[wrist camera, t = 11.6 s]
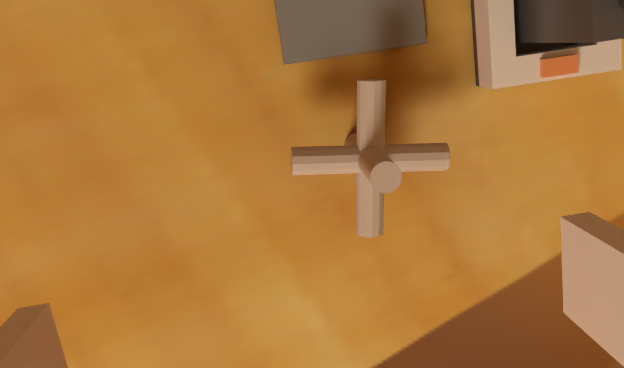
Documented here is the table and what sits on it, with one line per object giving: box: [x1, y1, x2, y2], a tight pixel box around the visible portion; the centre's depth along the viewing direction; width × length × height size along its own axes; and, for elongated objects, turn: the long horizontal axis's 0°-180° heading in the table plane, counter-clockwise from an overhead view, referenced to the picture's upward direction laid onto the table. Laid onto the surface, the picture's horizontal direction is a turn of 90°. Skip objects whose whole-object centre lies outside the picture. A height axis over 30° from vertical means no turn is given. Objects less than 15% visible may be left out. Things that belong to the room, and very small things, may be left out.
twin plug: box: [513, 0, 624, 43], centre depth 32 cm, size 4×4×13 cm
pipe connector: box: [291, 79, 450, 238], centre depth 36 cm, size 10×10×10 cm
